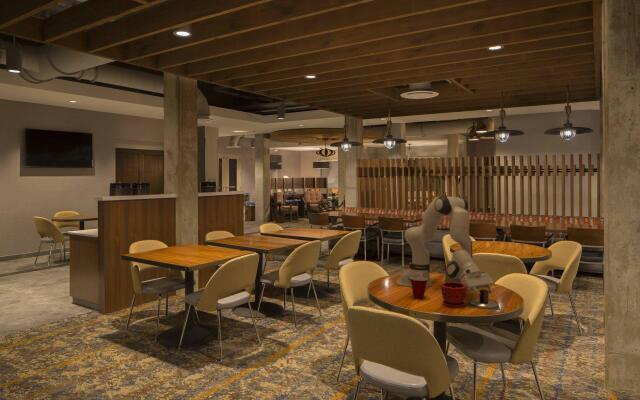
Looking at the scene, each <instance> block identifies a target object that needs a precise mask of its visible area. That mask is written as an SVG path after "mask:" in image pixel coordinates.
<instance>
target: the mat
mask: <svg viewBox="0 0 640 400" xmlns="http://www.w3.org/2000/svg"><path fill="white" fill-rule="evenodd" d="M472 300H473V299H472ZM472 300H469V299H468V300H467V302H468V308H469V309H478V310H479V309H480V310H486V309H485V308H478V307H474V306H472V305H471V301H472ZM495 302H496V303H497V307H496V308H492V309H489V310H493V311H502V310H501V308H500V305H499V302H498V301H495Z"/></svg>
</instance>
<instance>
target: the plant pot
mask: <svg viewBox="0 0 640 400" xmlns="http://www.w3.org/2000/svg"><path fill="white" fill-rule="evenodd" d="M450 286H451V287H450ZM463 286H464V287H463ZM456 287H458V288H456ZM466 294H467V290H466V285H462V283H458V282H442V284H441V296H442V299H443V301H442V304H443V305H444V306H446V307H449V308H462V307H463V306H465V304H466V303H465V302H464V301H465V299H466V296H467V295H466Z"/></svg>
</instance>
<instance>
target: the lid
mask: <svg viewBox="0 0 640 400" xmlns="http://www.w3.org/2000/svg"><path fill="white" fill-rule="evenodd" d="M488 291H489V289H484V288H483V289H482V288H481V289H479V292H480V295H479V299H472V301H471V305H472V306H474V307H478V308H485V309H484V310H490V309H492V308H496V307H497V303H496V302H497V301H494V300H489V292H488Z"/></svg>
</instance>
